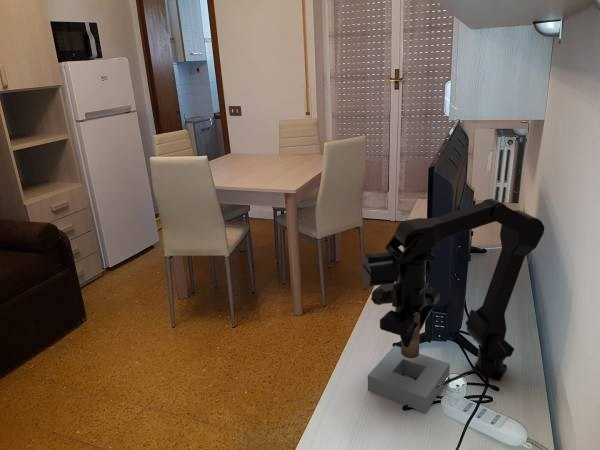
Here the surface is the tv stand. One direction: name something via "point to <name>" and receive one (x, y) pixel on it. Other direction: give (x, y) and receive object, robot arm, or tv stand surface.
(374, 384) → the socket block
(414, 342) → the walnut peg
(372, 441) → the tv stand surface
